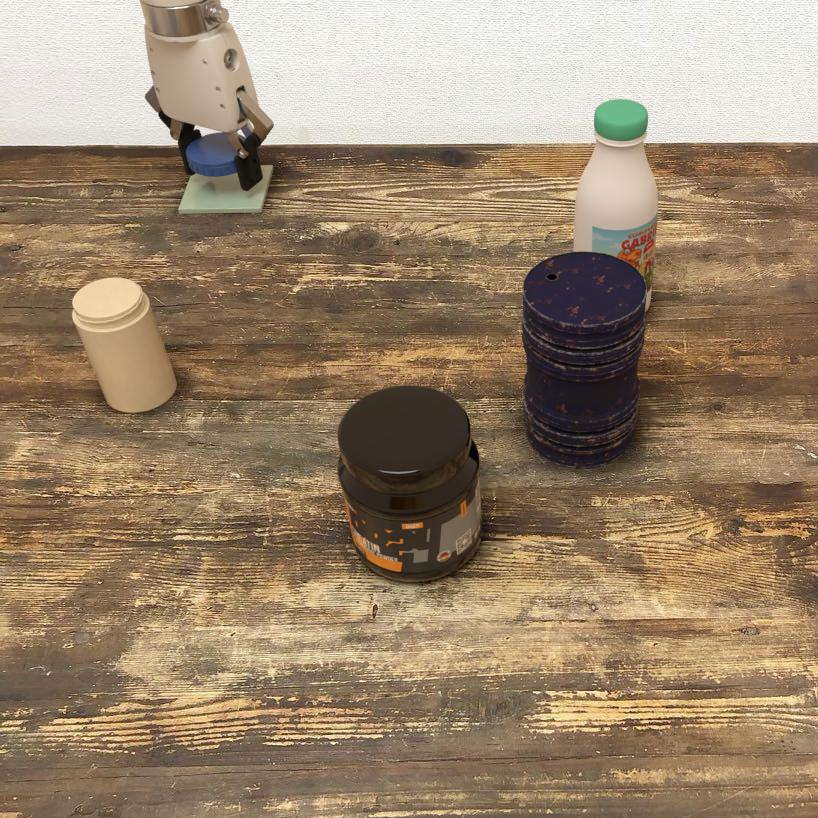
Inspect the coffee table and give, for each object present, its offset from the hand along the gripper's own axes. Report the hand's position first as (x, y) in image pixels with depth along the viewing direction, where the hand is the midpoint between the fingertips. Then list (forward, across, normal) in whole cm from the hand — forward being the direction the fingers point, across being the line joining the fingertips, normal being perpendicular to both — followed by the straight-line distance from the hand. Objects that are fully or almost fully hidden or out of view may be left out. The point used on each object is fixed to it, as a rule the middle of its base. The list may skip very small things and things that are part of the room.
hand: (224, 175), depth 118 cm
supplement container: (+2, -45, +36) cm, 58 cm away
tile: (+2, 0, 0) cm, 2 cm away
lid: (-3, 0, 0) cm, 3 cm away
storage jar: (+2, -52, +18) cm, 55 cm away
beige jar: (+2, -13, +31) cm, 34 cm away
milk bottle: (+2, -47, +1) cm, 47 cm away
